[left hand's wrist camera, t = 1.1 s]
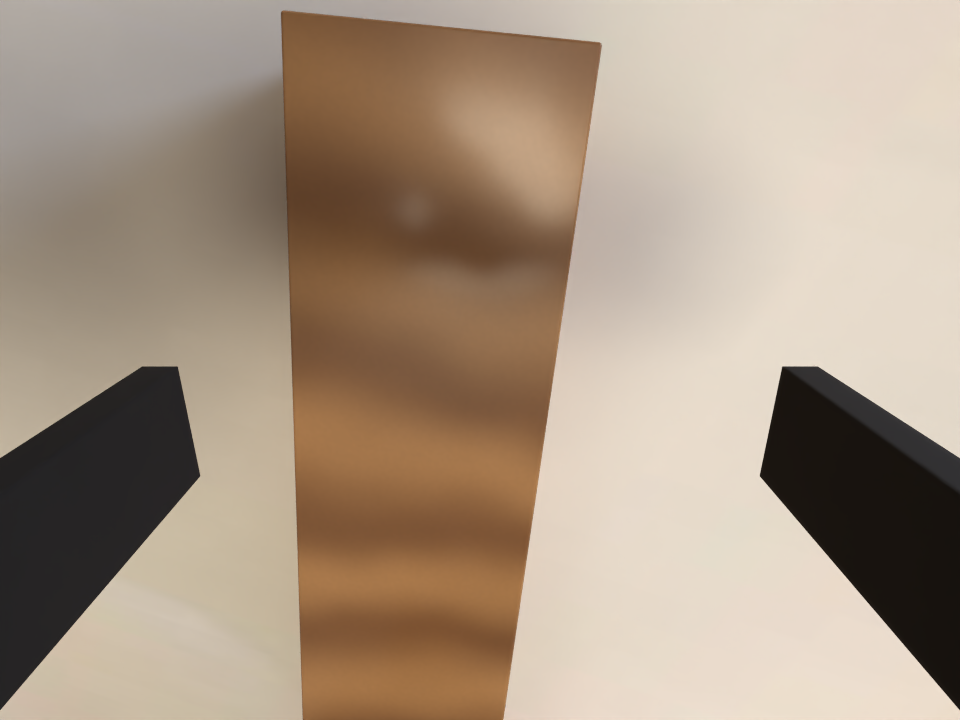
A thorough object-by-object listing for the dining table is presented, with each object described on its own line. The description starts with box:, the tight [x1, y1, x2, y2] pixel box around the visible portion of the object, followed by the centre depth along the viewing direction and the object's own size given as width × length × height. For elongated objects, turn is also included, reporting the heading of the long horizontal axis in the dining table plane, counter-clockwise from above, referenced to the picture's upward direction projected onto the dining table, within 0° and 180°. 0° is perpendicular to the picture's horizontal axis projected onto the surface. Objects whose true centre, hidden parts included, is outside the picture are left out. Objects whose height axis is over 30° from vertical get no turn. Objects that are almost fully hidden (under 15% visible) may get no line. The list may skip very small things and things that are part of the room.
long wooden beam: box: [281, 11, 602, 720], centre depth 30 cm, size 60×10×7 cm, turn 175°
